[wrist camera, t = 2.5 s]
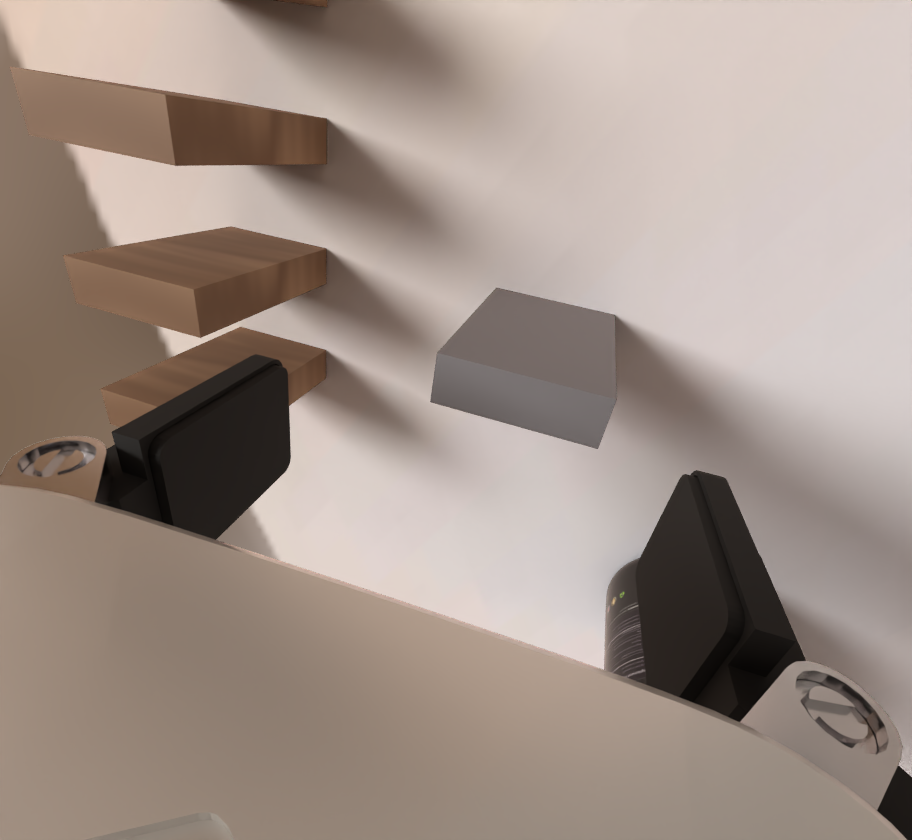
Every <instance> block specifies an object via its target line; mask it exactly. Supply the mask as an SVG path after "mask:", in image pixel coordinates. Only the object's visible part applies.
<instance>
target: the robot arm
mask: <svg viewBox="0 0 912 840" xmlns="http://www.w3.org/2000/svg"><path fill="white" fill-rule="evenodd" d="M112 435H113V438H114V442H115V445H113V446H112V447H110V448H108V449H106V446H105V445H104V444H103V443H102V442H101V441H99V440H97V439H94V438H91V437H84V436H65V437H59V438H53V439H48V440H45V441H41V442H38V443H35V444H33V445H30V446H28V447H26V448H23V449H22V450H21V451H19V452H17V453H16V454H15V455H13V456H12V457H11V458H10V459H9V461H8V462H7V463H6V465H5V467H4V469H3V471H2V473H1V475H0V840H912V777H911V776H910V775H908V774H907V773H906V772H905V771H904V770H903V769H902V768H901V767H899V766H898V764H899V762H900V760H901V755H902V743H901V740H900V737H899V734H898V731H897V729H896V728H895V726H894V724H893V723H892V721H891V719H890V718H889V716H888V715H887V713H886V712H885V711H884V710H883V709H882V708H881V706H880V705H879V704H878V703H877V702H876V701H875V700H874V698H873V697H871V696H870V695H869V694H868V693H867V692H866V691H864V690H863V689H862V688H861V687H860V686H859V685H858V684H856V683H855V682H853V681H852V680H850V679H849V678H847V677H846V676H844V675H843V674H841V673H840V672H838V671H835V670H833V669H831V668H829V667H827V666H825V665H822V664H818V663H814V662H810V661H806V660H805V658H804V655H803V653H802V651H801V648H800V646H799V644H798V641H797V639H796V637H795V634H794V632H793V630H792V628H791V625H790V623H789V621H788V618H787V616H786V614H785V611H784V609H783V607H782V604H781V602H780V600H779V598H778V595H777V593H776V591H775V588H774V586H773V584H772V581H771V579H770V577H769V574H768V572H767V570H766V568H765V565H764V563H763V561H762V558H761V556H760V555H759V553H758V551H757V549H756V547H755V544H754V542H753V540H752V537H751V535H750V533H749V530H748V528H747V526H746V523H745V521H744V519H743V516H742V514H741V512H740V509H739V507H738V505H737V503H736V500H735V498H734V496H733V493H732V491H731V489H730V486H729V484H728V482H727V480H726V479H725V478H724V477H720V476H716V475H713V474H709V473H705V472H701V471H697V470H696V471H694V472H693V473H692V474H691V475H687V474H684V475H682V477H681V478H680V480H679V482H678V484H677V486H676V488H675V490H674V492H673V494H672V496H671V498H670V500H669V502H668V504H667V506H666V508H665V510H664V512H663V514H662V515H661V517H660V519H659V521H658V523H657V525H656V527H655V529H654V531H653V533H652V535H651V537H650V539H649V541H648V543H647V545H646V547H645V549H644V551H643V553H642V555H641V557H640V559H639V562H638V564H637V568H636V587H637V597H638V606H639V616H640V625H641V635H642V645H643V654H644V664H645V673H646V683H647V685H645V684H643V683H640V682H637V681H635V680H632V679H629V678H626V677H623V676H620V675H617V674H614V673H611V672H608V671H605V670H603V669H600V668H597V667H594V666H591V665H588V664H586V663H583V662H580V661H577V660H574V659H572V658H569V657H566V656H563V655H560V654H557V653H554V652H551V651H548V650H545V649H542V648H539V647H536V646H533V645H530V644H527V643H524V642H521V641H518V640H515V639H512V638H510V637H507V636H504V635H501V634H498V633H495V632H492V631H489V630H486V629H483V628H480V627H477V626H474V625H471V624H468V623H465V622H462V621H459V620H456V619H453V618H451V617H448V616H445V615H442V614H439V613H436V612H433V611H430V610H427V609H424V608H421V607H418V606H415V605H412V604H409V603H406V602H403V601H400V600H397V599H394V598H391V597H388V596H385V595H382V594H379V593H376V592H373V591H370V590H367V589H364V588H361V587H358V586H355V585H352V584H349V583H346V582H343V581H340V580H337V579H334V578H331V577H328V576H325V575H322V574H319V573H316V572H313V571H310V570H306V569H303V568H300V567H297V566H294V565H291V564H288V563H285V562H282V561H279V560H276V559H273V558H270V557H267V556H264V555H261V554H258V553H255V552H252V551H248V550H245V549H242V548H239V547H236V546H233V545H230V544H227V543H224V542H221V541H218V540H216V539H217V538H218V537H219V536H220V535H221V534H222V533H223V532H224V531H225V530H226V529H227V528H228V527H229V526H230V525H231V524H232V523H234V522H235V520H237V518H239V516H241V515H242V514H243V513H244V511H246V510H247V509H248V508H249V507H250V506H251V505H252V504H253V503H254V502H255V501H256V500H257V499H258V498H259V497H260V496H261V495H262V494H263V493H264V492H265V491H266V490H267V489H268V488H269V487H270V486H271V485H272V484H273V483H274V482H275V481H276V480H277V479H278V478H279V477H280V476H281V475H282V474H283V473H284V472H285V471H286V470H287V468H288V466H289V464H290V458H291V455H290V423H289V392H288V372H287V369H286V368H284V367H283V365H282V363H281V362H280V361H279V360H277V359H273V358H269V357H266V356H262V355H258V354H255V355H252V356H250V357H248V358H246V359H245V360H243V361H241V362H239V363H237V364H235V365H234V366H232V367H230V368H228V369H226V370H224V371H223V372H221V373H219V374H217V375H215V376H213V377H212V378H210V379H208V380H206V381H204V382H202V383H201V384H199V385H197V386H195V387H193V388H191V389H189V390H188V391H186V392H184V393H182V394H180V395H178V396H177V397H175V398H173V399H171V400H169V401H167V402H166V403H164V404H162V405H160V406H158V407H156V408H155V409H153V410H151V411H149V412H147V413H145V414H144V415H142V416H140V417H138V418H136V419H134V420H133V421H131V422H129V423H127V424H125V425H123V426H122V427H120V428H118V429H116V430H114V431H112Z"/></svg>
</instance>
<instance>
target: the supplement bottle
mask: <svg viewBox="0 0 912 840" xmlns="http://www.w3.org/2000/svg"><path fill="white" fill-rule="evenodd" d="M639 559H640V558H638V559H636V560H634V561H632V562H630V563H628V564H626V565H625V566H624V567H622V568H621V569H620V570H619V571H618V572H617V573H616V574H615V575H614V577H613V578H612V580H611V582H610V584H609V586H608V590H607V597H606V618H605V657H604V670H605V671H608V672H611V673H614V674H617V675H620V676H623V677H626V678H629V679H632V680H635V681H637V682H640V683H643V684H645V685H647V683H646V673H645V664H644V654H643V645H642V635H641V625H640V616H639V606H638V597H637V587H636V568H637V564H638V562H639Z"/></svg>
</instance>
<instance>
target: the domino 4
mask: <svg viewBox="0 0 912 840" xmlns="http://www.w3.org/2000/svg"><path fill="white" fill-rule="evenodd" d="M616 400H617V396H616V347H615V315H612V314H608V313H604V312H599V311H595V310H591V309H586V308H582V307H578V306H573V305H569V304H565V303H560V302H556V301H552V300H547V299H543V298H539V297H534V296H530V295H526V294H521V293H517V292H513V291H508V290H504V289H500V288H496V289H495V290H494V291H493V292H492V293H491V294H490V295H489V296H488V298H487V299H486V300H485V301H484V302H483V303H482V304H481V305H480V306H479V307H478V309H477V310H476V311H475V312H474V313H473V314H472V315H471V316H470V317H469V318H468V320H467V321H466V322H465V323H464V324H463V325H462V326H461V327H460V328H459V329H458V330H457V332H456V333H455V334H454V335H453V336H452V337H451V338H450V339H449V340H448V341H447V343H446V344H445V345H444V346H443V347H442V348H441V349H440V350H439V351H438V352H437V358H436V365H435V372H434V379H433V386H432V394H431V401H430V402H432V403H436V404H439V405H443V406H446V407H450V408H453V409H457V410H461V411H464V412H468V413H471V414H475V415H478V416H482V417H486V418H489V419H493V420H496V421H500V422H503V423H507V424H511V425H514V426H518V427H521V428H525V429H528V430H532V431H536V432H539V433H543V434H546V435H550V436H553V437H557V438H561V439H564V440H568V441H571V442H575V443H578V444H582V445H586V446H589V447H593V448H596V449H598V447H599V445H600V442H601V439H602V437H603V434H604V432H605V429H606V426H607V424H608V421H609V418H610V416H611V413H612V410H613V408H614V405H615V402H616Z"/></svg>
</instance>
